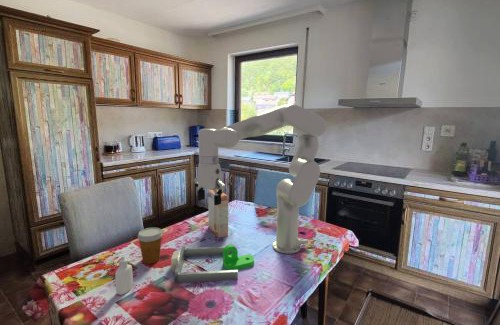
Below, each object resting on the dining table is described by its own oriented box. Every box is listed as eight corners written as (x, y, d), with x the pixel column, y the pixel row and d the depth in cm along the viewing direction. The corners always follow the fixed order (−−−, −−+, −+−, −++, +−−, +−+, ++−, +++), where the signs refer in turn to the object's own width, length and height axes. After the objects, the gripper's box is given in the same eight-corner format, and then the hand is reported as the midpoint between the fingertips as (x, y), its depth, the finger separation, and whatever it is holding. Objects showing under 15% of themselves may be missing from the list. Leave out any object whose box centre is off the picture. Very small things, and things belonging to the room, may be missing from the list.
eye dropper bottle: (113, 290, 87) (111, 256, 85) (131, 283, 91) (129, 251, 89) (118, 296, 84) (115, 262, 82) (136, 289, 88) (134, 256, 86)
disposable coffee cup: (157, 251, 113) (156, 225, 112) (167, 260, 107) (166, 232, 105) (134, 259, 107) (133, 231, 105) (144, 268, 100) (143, 239, 98)
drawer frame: (234, 252, 114) (234, 241, 113) (237, 279, 94) (237, 266, 94) (176, 255, 111) (176, 243, 110) (167, 283, 91) (167, 269, 91)
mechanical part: (228, 272, 99) (228, 252, 98) (222, 264, 104) (222, 245, 103) (256, 265, 104) (256, 246, 103) (250, 258, 109) (250, 240, 108)
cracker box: (228, 236, 130) (229, 195, 127) (217, 238, 127) (217, 196, 124) (218, 226, 142) (218, 188, 139) (208, 228, 139) (207, 189, 136)
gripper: (231, 161, 101) (231, 204, 104) (201, 157, 112) (202, 196, 114) (217, 163, 95) (217, 209, 98) (187, 159, 106) (188, 200, 109)
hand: (209, 202), depth 106 cm, fingers open, 9 cm apart
